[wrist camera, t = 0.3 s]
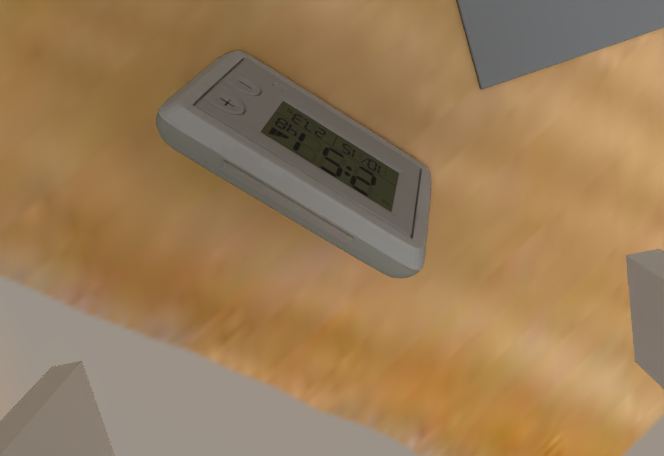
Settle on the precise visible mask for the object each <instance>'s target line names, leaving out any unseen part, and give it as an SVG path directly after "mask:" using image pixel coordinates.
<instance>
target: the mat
mask: <svg viewBox="0 0 664 456" xmlns="http://www.w3.org/2000/svg"><path fill="white" fill-rule="evenodd" d="M457 4H458V8H459V12H460V15H461V19H462V23H463V26H464V30H465V34H466V37H467V41H468V45H469V48H470V52H471V56H472V60H473V63H474V67H475V71H476V74H477V78H478V82H479V85H480V89H484V88H487V87H490V86H493V85H496V84H499V83H502V82H505V81H508V80H511V79H514V78H517V77H520V76H522V75H525V74H528V73H531V72H534V71H537V70H540V69H543V68H546V67H549V66H552V65H555V64H558V63H560V62H563V61H566V60H569V59H572V58H575V57H578V56H581V55H584V54H587V53H590V52H593V51H596V50H599V49H601V48H604V47H607V46H610V45H613V44H616V43H619V42H622V41H625V40H628V39H631V38H634V37H637V36H639V35H642V34H645V33H648V32H651V31H654V30H657V29H660V28H663V27H664V0H457Z"/></svg>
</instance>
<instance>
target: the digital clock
mask: <svg viewBox="0 0 664 456" xmlns="http://www.w3.org/2000/svg"><path fill="white" fill-rule="evenodd" d="M156 124H157V128H158V131H159V133H160V135H161V137H162V139H163V140H164V141H165V143H167V144H168V145H169V146H170V147H172V148H173V149H175V150H176V151H178V152H180V153H181V154H183V155H185V156H186V157H188V158H189V159H191V160H193V161H194V162H196V163H198V164H199V165H201V166H202V167H204V168H206V169H207V170H209V171H211V172H212V173H214V174H216V175H217V176H219V177H221V178H222V179H224V180H226V181H228V182H229V183H231V184H233V185H234V186H236V187H238V188H239V189H241V190H243V191H244V192H246V193H248V194H249V195H251V196H253V197H254V198H256V199H258V200H259V201H261V202H263V203H265V204H266V205H268V206H270V207H271V208H273V209H275V210H276V211H278V212H280V213H281V214H283V215H285V216H286V217H288V218H290V219H291V220H293V221H295V222H296V223H298V224H300V225H301V226H303V227H305V228H307V229H308V230H310V231H312V232H313V233H315V234H317V235H318V236H320V237H322V238H323V239H325V240H327V241H328V242H330V243H332V244H333V245H335V246H337V247H338V248H340V249H342V250H344V251H345V252H347V253H349V254H350V255H352V256H354V257H355V258H357V259H359V260H360V261H362V262H364V263H366V264H367V265H369V266H371V267H373V268H374V269H376V270H378V271H380V272H382V273H383V274H385V275H387V276H390V277H393V278H408V277H411V276H413V275H415V274H417V273H418V272H419V271H420V270H421V269H422V267H423V264H424V259H425V252H426V241H427V230H428V220H429V209H430V198H431V174H430V171H429V170H428V169H427V168H426V167H425V166H424V165H423V164H422V163H420V162H419V161H417V160H415V159H414V158H412V157H411V156H409V155H408V154H406V153H405V152H403V151H402V150H400V149H398V148H397V147H395V146H394V145H392V144H391V143H389V142H387V141H386V140H384V139H383V138H381V137H379V136H378V135H376V134H375V133H373V132H372V131H370V130H368V129H367V128H365V127H364V126H362V125H360V124H359V123H357V122H356V121H354V120H352V119H351V118H349V117H348V116H346V115H345V114H343V113H341V112H340V111H338V110H337V109H335V108H333V107H332V106H330V105H329V104H327V103H326V102H324V101H322V100H321V99H319V98H318V97H316V96H314V95H313V94H311V93H310V92H308V91H306V90H305V89H303V88H302V87H300V86H299V85H297V84H295V83H294V82H292V81H291V80H289V79H287V78H286V77H284V76H283V75H281V74H279V73H278V72H276V71H275V70H273V69H272V68H270V67H268V66H267V65H265V64H263V63H262V62H260V61H258V60H257V59H255V58H254V57H252V56H250V55H249V54H247V53H245V52H242V51H233V52H230V53H227V54H225V55H222V56H220V57H219V58H217V59H216V60H215V61H214V62H213V63H211V64H210V65H209V66H208V67H207V68H205V69H204V70H203V71H202V72H200V73H199V74H198V75H197V76H196V77H194V78H193V79H192V80H191V81H190V82H188V83H187V84H186V85H185V86H184V87H182V88H181V89H180V90H179V91H177V92H176V93H175V94H174V95H173V96H171V97H170V98H169V99H168V100H167V101H166V102H165V103H164V104H163V105H162V106H161V107H160V108H159V111H158V114H157V118H156Z"/></svg>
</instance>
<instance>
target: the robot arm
mask: <svg viewBox="0 0 664 456" xmlns="http://www.w3.org/2000/svg"><path fill="white" fill-rule="evenodd" d="M626 262H627V274H628V285H629V297H630V308H631V320H632V331H633V343H634V354H635V362H636V363H637V364H638V365H639V366H640V367H641V368H642V369H643V370H644V371H645V372H646V373H648V374H649V375H650V376H651V377H652V378H653V379H654V380H655V381H656V382H657V383H658V384H659V385H660V386H661V387H662V388H663V389H664V251H662V250H661V249H656V250H651V251H645V252H640V253H635V254H630V255H626ZM0 456H115V455H114V453H113V450H112V447H111V444H110V441H109V438H108V435H107V432H106V429H105V426H104V424H103V421H102V418H101V415H100V412H99V409H98V407H97V403H96V400H95V398H94V395H93V392H92V389H91V386H90V383H89V380H88V377H87V374H86V372H85V369H84V366H83V363H82V361H79V362H74V363H69V364H64V365H59V366H53V367H51V368H50V369H49V370H48V371H47V372H46V373H45V375H43V377H42V378H41V379H40V380H39V381H38V382H37V383H36V384H35V385H34V386H33V387H32V388H31V389H30V390H29V391H28V392H27V393H26V395H25V396H24V397H23V398H22V399H21V400H20V401H19V402H18V403H17V404H16V405H15V406H14V407H13V408H12V409H11V410H10V412H9V413H8V414H7V415H6V416H5V417H4V418H3V419H2V420H1V421H0Z"/></svg>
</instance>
